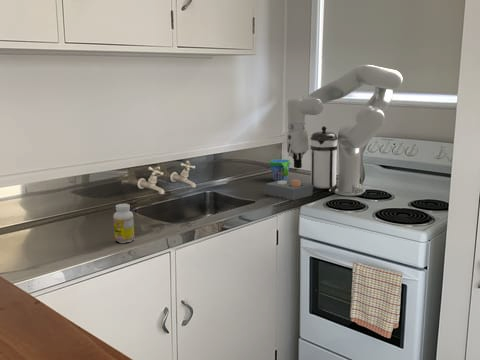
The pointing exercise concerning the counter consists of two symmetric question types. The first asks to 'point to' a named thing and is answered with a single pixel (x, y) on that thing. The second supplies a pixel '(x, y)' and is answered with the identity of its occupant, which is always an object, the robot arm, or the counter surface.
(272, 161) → the snack cup
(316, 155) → the coffee press
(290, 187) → the block
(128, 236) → the supplement bottle
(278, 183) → the plug
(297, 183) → the terracotta plug
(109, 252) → the counter surface
